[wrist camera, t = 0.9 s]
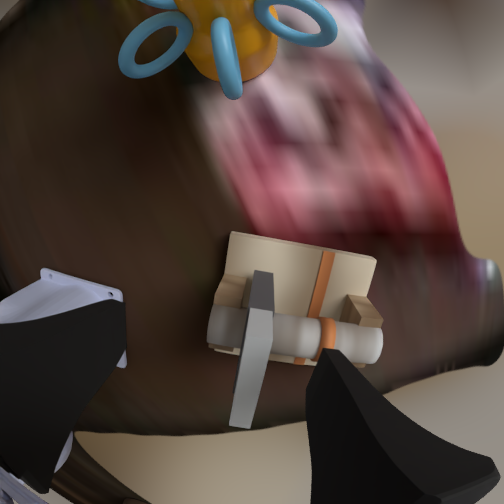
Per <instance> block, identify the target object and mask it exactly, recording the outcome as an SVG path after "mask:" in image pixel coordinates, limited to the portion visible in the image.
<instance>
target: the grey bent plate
mask: <svg viewBox="0 0 504 504" xmlns="http://www.w3.org/2000/svg"><path fill="white" fill-rule="evenodd" d="M274 313H275V304H274V276H273V273H271V272H265V271H259V270H254V275H253V281H252V286H251V292H250V297H249V303H248V310H247V316H246V321H245V327H244V332H243V338H242V343H241V349H240V354H239V359H238V365H237V371H236V376H235V382H234V388H233V393H234V398H233V404H232V410H231V416H230V422H229V425H230V426H236V427H242V428H249V429H250V426H251V422H252V419H253V415H254V412H255V408H256V404H257V400H258V397H259V393H260V389H261V385H262V382H263V378H264V374H265V370H266V366H267V362H268V358H269V354H270V350H271V346H272V342H273V317H274Z"/></svg>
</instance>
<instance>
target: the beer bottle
mask: <svg viewBox="0 0 504 504" xmlns="http://www.w3.org/2000/svg"><path fill="white" fill-rule="evenodd" d="M123 504H148V503H146V502H143V501H140V500H137V499H134V498H126V499H125V500H124V502H123Z"/></svg>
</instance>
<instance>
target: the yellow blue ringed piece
mask: <svg viewBox="0 0 504 504" xmlns="http://www.w3.org/2000/svg"><path fill="white" fill-rule="evenodd" d="M139 1H141V2H143V3H145V4H147V5H150V6H153V7H157V8H162V9H179V11H180V12H175V11H170V12H164V13H160V14H157V15H155V16H152V17H150V18H149V19H147V20H145V21H144V22H142V23H141V24H140V25H138V26H137V27H136V28H135V29H134V30H133V31H132V32H131V33H130V34H129V36H128V37H127V38H126V40H125V41H124V43H123V45H122V47H121V49H120V52H119V58H118V63H119V67H120V70H121V71H122V73H123V74H125V75H126V76H128V77H130V78H145V77H149V76H151V75H154V74H156V73H158V72H160V71H162V70H163V69H165V68H166V67H168V66H169V65H170V64H172V63H173V62H174V61H175V60H176V59H177V58H178V57H179V56H180V55H181V54H182V53H183V52H184V51H185V53H186V54H187V56H188V57H189V58H190V60H191V61H192V63H193V64H194V66H195V67H196V68H197V69H198V71H199V72H200V73H201V74H203V75H204V76H206V77H207V78H209V79H211V80H214V81H218V82H220V84H221V87H222V90H223V92H224V94H225V96H226V97H227V98H229V99H231V100H236V99H238V98H240V97H241V95H242V91H243V90H242V82H243V81H248V80H250V79H252V78H255V77H257V76H258V75H260V74H262V73H263V72H264V71H265V70H266V69H267V68H268V67H269V66H270V65H271V64H272V62H273V61H274V59H275V56H276V53H277V43H278V36H279V37H280V38H282V39H285V40H287V41H289V42H292V43H295V44H298V45H302V46H307V47H323V46H327V45H329V44H331V43H332V42H333V41H334V40H335V39H336V37H337V32H338V29H337V25H336V22H335V20H334V18H333V17H332V15H331V14H330V13H329V12H328V11H327V10H326V9H325V8H324V7H323V6H322V5H320V4H319V3H317V2H316V1H314V0H139ZM276 4H281V5H287V6H291V7H294V8H297V9H299V10H301V11H303V12H305V13H307V14H308V15H309V16H311V17H312V18H313V19H314V20H315V21H316V22H317V23H318V24H319V26H320V28H321V32H320V33H318V34H306V33H302V32H299V31H296V30H293V29H291V28H289V27H287V26H285V25H283V24H282V23H280V22H279V21H278V16H277V12H276V10H275V8H274V6H273V5H276ZM171 25H173V26H176V35H177V38H176V40H175V42H174V43H173V45H172V46H171V47H170V48H169V49H168V50H167V51H166V52H165V53H164V54H163V55H162V56H160V57H159V58H158V59H156V60H154V61H152V62H150V63H147V64H144V65H138V64H136V63H135V61H134V57H135V53H136V51H137V49H138V47H139V46H140V44H141V43H142V42H143V41H144V40H145V39H146V38H147V37H148V36H149V35H150V34H152V33H153V32H155V31H156V30H158V29H160V28H162V27H165V26H171Z"/></svg>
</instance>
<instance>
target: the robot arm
mask: <svg viewBox="0 0 504 504" xmlns="http://www.w3.org/2000/svg"><path fill="white" fill-rule="evenodd" d="M51 275H52V276H51ZM110 292H111V293H112V294H113V296H112V295H111V294H110ZM126 348H127V343H126V318H125V303H124V302H123V295H122V292H121V291H120V290H118V289H115V288H112V287H108V286H104V285H101V284H97V283H93V282H90V281H86V280H83V279H80V278H76V277H73V276H69V275H66V274H63V273H60V272H56V271H53V270H50V269H47V268H43V269H41V279H40V280H38V281H36V282H35V283H33V284H31V285H29V286H27V287H25V288H23V289H22V290H20V291H18V292H16V293H14V294H13V295H11V296H9V297H7V298H6V299H4V300H3V301H1V302H0V504H14V502H13V500H12V498H13V499H14V500H15V501H16V502H17V503H19V504H48V503H47V502H45V501H44V500H42V499H41V498H39V497H38V496H37V495H35V494H34V493H32V492H31V491H30V490H28V489H27V488H26V487H24V486H23V484H27V485H28V486H30V487H31V488H32V489H34V490H35V491H37V492H38V493H40V494H46V493H48V492H49V488H50V485H51V481H52V478H53V475H54V472H56V471H57V470H58V469H59V468H60V467H61V466H62V465H63V464H64V462H65V461H66V459H67V458H68V456H69V453H70V451H71V446H72V440H73V433H72V429H73V427H74V425H75V424H76V422H77V420H78V418H79V416H80V415H81V413H82V411H83V410H84V408H85V407H86V405H87V404H88V403H89V401H90V400H91V399H92V397H93V396H94V395H95V393H96V392H97V391H98V390H99V388H100V387H101V386H102V384H103V383H104V382H105V381H106V379H107V378H108V377H109V375H110V374H111V373H112V371H113V370H114V369H115V367H116V366H118V367H120V368H125V367H126V365H127V359H126ZM306 421H307V429H308V438H309V446H310V454H311V466H312V484H311V503H310V504H475V503H476V502H477V501H479V500H480V499H481V498H482V497H484V496H485V495H486V494H487V493H488V492H490V491H491V490H492V489H493V488H494V487H495V486H496V485H497V483H498V482H499V480H500V474H499V472H498V470H497V468H496V466H495V464H494V462H493V460H492V459H491V458H490V457H487V456H484V455H481V454H477V453H474V452H471V451H468V450H465V449H463V448H460V447H458V446H456V445H454V444H451V443H449V442H447V441H445V440H443V439H441V438H439V437H438V436H436V435H434V434H432V433H431V432H429V431H427V430H426V429H424V428H423V427H421V426H419V425H418V424H417V423H415V422H414V421H412V420H411V419H410V418H408V417H407V416H406V415H404V414H403V413H402V412H401V411H399V410H398V409H397V408H396V407H395V406H393V405H392V404H391V403H390V402H389V401H388V400H387V399H386V398H385V397H384V396H382V395H381V394H380V393H379V392H378V391H377V390H376V389H375V388H374V387H373V386H372V385H371V384H370V382H369V381H368V380H367V379H366V378H365V377H364V376H363V375H362V374H361V373H360V372H359V371H358V369H357V368H356V367H355V366H354V365H353V364H352V363H351V362H350V361H349V359H348V358H347V357H346V356H345V355H344V354H343V353H342V352H341V351H340V350H337V349H330V348H322V351H321V354H320V356H319V359H318V361H317V364H316V366H315V369H314V371H313V374H312V376H311V379H310V381H309V383H308V386H307V388H306Z"/></svg>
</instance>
